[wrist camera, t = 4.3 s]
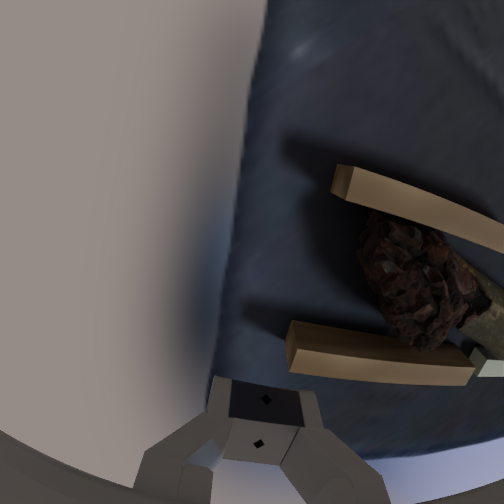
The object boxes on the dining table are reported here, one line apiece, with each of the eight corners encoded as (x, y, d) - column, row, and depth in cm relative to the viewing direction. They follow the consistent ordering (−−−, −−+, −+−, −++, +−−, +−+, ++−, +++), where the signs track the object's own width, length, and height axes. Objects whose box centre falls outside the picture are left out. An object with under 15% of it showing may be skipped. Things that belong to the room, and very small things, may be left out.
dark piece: (515, 298, 24) (553, 328, 18) (473, 360, 27) (503, 397, 20) (374, 190, 21) (417, 207, 15) (319, 282, 24) (340, 329, 17)
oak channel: (337, 163, 21) (354, 166, 17) (503, 226, 22) (531, 238, 18) (284, 341, 25) (289, 371, 21) (446, 361, 26) (465, 385, 22)
